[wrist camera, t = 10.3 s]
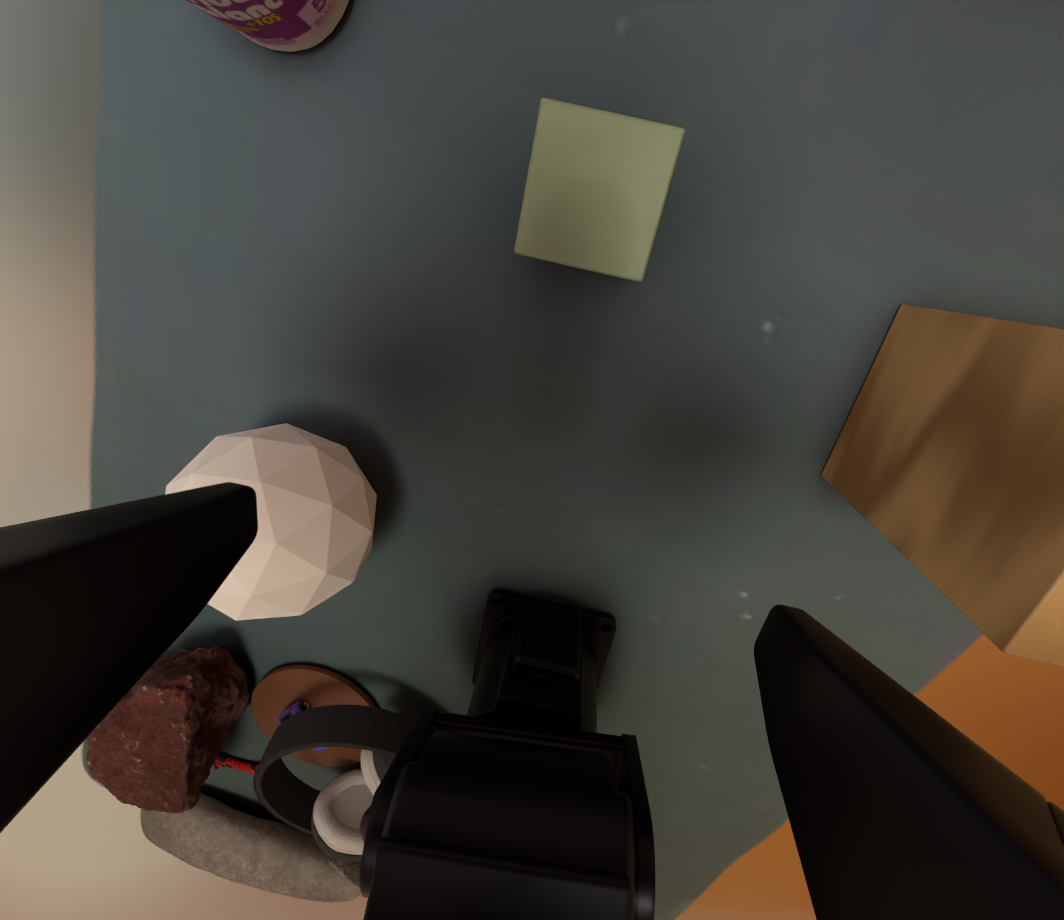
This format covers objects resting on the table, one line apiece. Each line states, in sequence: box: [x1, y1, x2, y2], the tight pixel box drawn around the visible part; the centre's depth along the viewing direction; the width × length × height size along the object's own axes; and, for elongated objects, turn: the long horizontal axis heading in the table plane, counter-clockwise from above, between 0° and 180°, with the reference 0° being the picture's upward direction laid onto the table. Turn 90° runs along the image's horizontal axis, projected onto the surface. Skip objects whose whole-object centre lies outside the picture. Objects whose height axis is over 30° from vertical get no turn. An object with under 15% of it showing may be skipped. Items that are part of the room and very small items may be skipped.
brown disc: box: [251, 665, 378, 767], centre depth 29 cm, size 8×8×2 cm
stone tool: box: [141, 793, 362, 902], centre depth 34 cm, size 17×3×5 cm
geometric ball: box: [165, 423, 377, 620], centre depth 20 cm, size 8×8×8 cm
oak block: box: [822, 304, 1064, 667], centre depth 14 cm, size 7×7×10 cm
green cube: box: [514, 98, 685, 282], centre depth 16 cm, size 4×4×4 cm
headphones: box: [253, 704, 422, 862], centre depth 29 cm, size 10×4×20 cm
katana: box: [211, 753, 259, 774], centre depth 33 cm, size 13×2×1 cm, turn 90°
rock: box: [87, 647, 249, 813], centre depth 28 cm, size 11×6×8 cm
